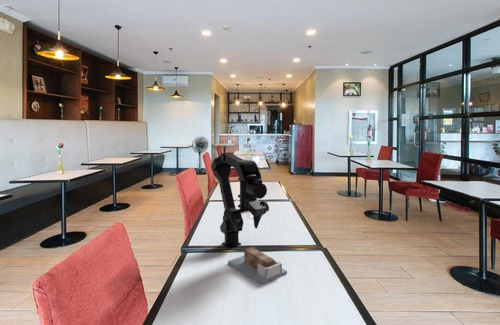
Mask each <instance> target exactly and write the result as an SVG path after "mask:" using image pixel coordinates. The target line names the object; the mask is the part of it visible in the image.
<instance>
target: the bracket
mask: <svg viewBox="0 0 500 325" xmlns="http://www.w3.org/2000/svg"><path fill="white" fill-rule="evenodd" d="M274 260H275V265H273V266H270V267H267V268H266V267H265V266H263V265H261V264H258V270H257V269H255V268H254V267H252V266H251V265H249V264H247V263H246V262H244V255H241V256H238V257H236V258H233V259H230V260H228V261H227V264H228V265H230V266H232V268H234V269H236V270H238V271H239V272H241V273H243V274H244V275H245V276H247V277H249V278H251V279H252V280H254V281H255V282H257V283H258V284H260V285H263V284H266V283H268V282H270V281H273V280H275V279H278V278H279V277H282V276H285V275H287V274H288V270H286V269H285V268H283V263H282V262H281V261H278V260H276V259H274Z"/></svg>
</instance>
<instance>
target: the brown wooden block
mask: <svg viewBox="0 0 500 325" xmlns="http://www.w3.org/2000/svg"><path fill="white" fill-rule="evenodd" d="M243 250H244V252H243V253H244V255H243V256H244V262H246V263H247V264H249V265H251V266H252V267H254V268H255V269H257V270H258V264H261V265H263V266H265V267H266V268H267V267H270V266H273V265H275V260H276V259H274V258H272V257H270V256H268V255H267V254H265V253H263V252H262V251H260V250H258V249H256V248H254V247H253V246H251V247H246V248H244V249H243Z"/></svg>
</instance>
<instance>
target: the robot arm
mask: <svg viewBox="0 0 500 325" xmlns="http://www.w3.org/2000/svg"><path fill="white" fill-rule="evenodd" d="M231 168H234V169H235V173H236V174H237V175H238V176H239V177H237V180H238V181H239V194H237V198H239V204H238V205H237V208H238V209H237V208H236V204H235V199H234V196H233V191H232V186H231V181H230V178H229V177H230V175H231V172H232V170H231ZM210 169H211V171H212V174H213V176H214V177H215V179H216V180H218V184H219V189H220V195H221V199H222V204H223V208H224V210H223V216H222V223H221V224H220V226H219V228H220V230H219V231H220V233H222V234H224V241H223V242H221V244H222V245H223V246H225V247H226V248H228V249H232V248H235V247H239V246H241V245H242V243H241V242H239V240H240V239H239V234H240V232H242V231H243V227H244V218H243V216H242V214H245V213H250V214H251V215H252V216H253V217H252V220H253V225H254V228H255V229H258V228H259V224H260V221H261V219H262V217H263V215H265V214H267V212H269V210H270V206H269V204H268V202H267V201H266V200H262V201H258V199H259V200H261V199H263V198H265V196H266V195H267V193H268V188H267V185H266V184H264V183H263V178H262V174H261V172H260V169H259V167H258V164H257V163H256V161H255V160H249V159H248V160H247V159H242V158H241V157H239V156H238V155H235V154H234V153H233V152H229V151H227V152H221V153H220V155H219V156H218V157H216V158H214V159H213V161H212V162H211V164H210Z"/></svg>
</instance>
